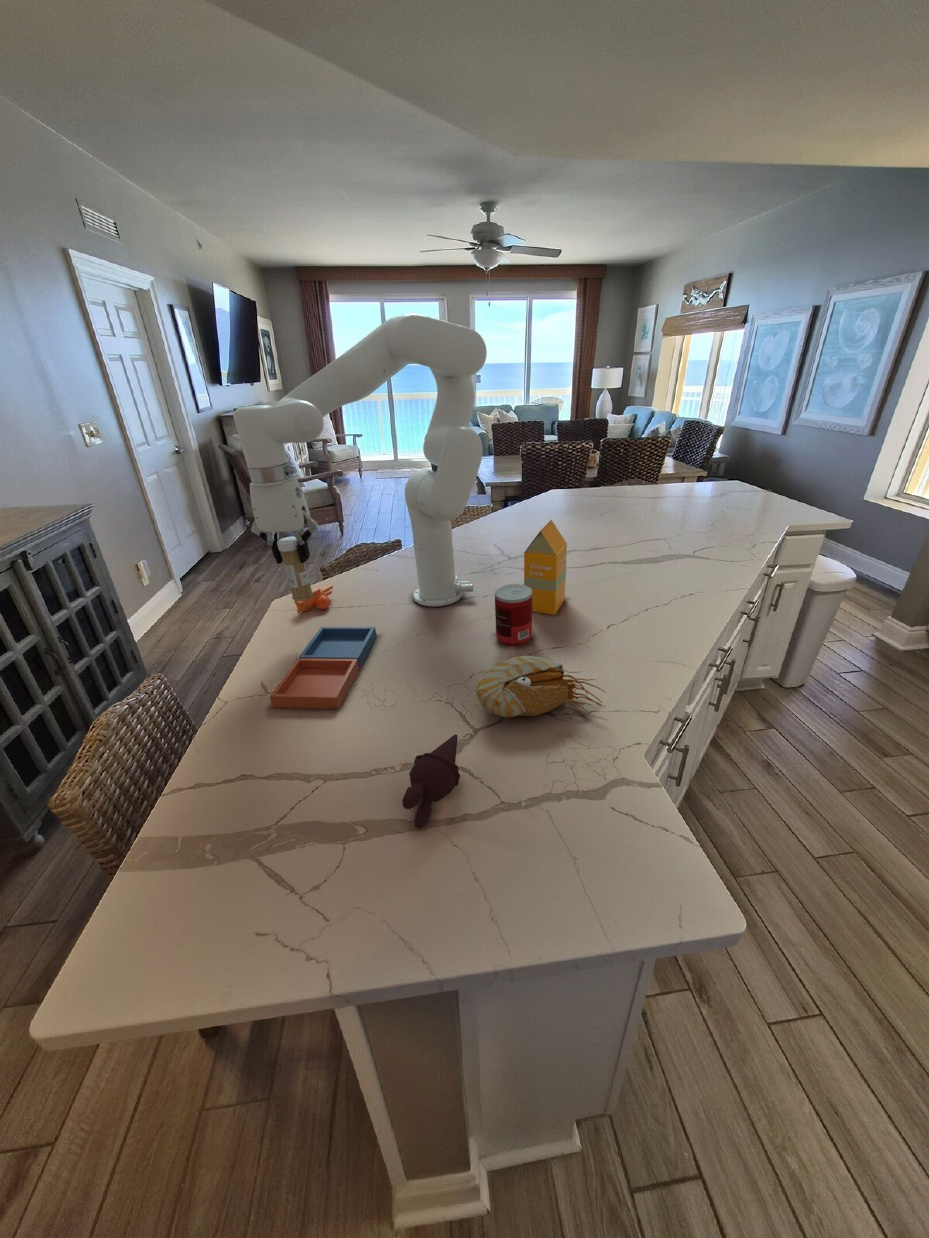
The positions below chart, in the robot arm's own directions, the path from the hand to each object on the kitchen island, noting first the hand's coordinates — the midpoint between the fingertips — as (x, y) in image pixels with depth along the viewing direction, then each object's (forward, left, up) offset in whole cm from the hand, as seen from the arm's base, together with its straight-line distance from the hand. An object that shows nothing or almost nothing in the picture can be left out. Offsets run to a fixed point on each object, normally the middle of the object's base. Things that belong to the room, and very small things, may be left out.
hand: (293, 560), depth 105 cm
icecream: (-37, +44, -18) cm, 60 cm away
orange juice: (-54, -15, -18) cm, 59 cm away
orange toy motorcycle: (+3, -14, -18) cm, 23 cm away
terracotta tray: (-10, +20, -18) cm, 29 cm away
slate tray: (-10, +7, -18) cm, 22 cm away
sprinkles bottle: (0, 0, -9) cm, 9 cm away
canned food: (-47, +1, -18) cm, 50 cm away
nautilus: (-52, +25, -18) cm, 60 cm away
